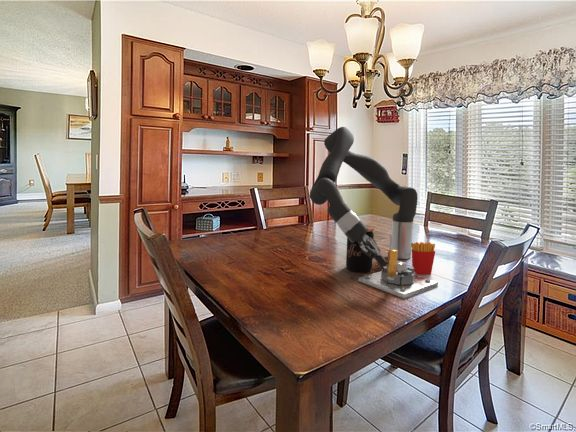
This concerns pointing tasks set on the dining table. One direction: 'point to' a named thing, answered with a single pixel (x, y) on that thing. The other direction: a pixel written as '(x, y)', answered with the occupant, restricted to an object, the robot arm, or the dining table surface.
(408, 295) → the flange plate
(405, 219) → the robot arm
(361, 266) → the coffee jar
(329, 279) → the dining table surface
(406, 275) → the spiky gray ring
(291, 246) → the dining table surface
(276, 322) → the dining table surface
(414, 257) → the french fries
